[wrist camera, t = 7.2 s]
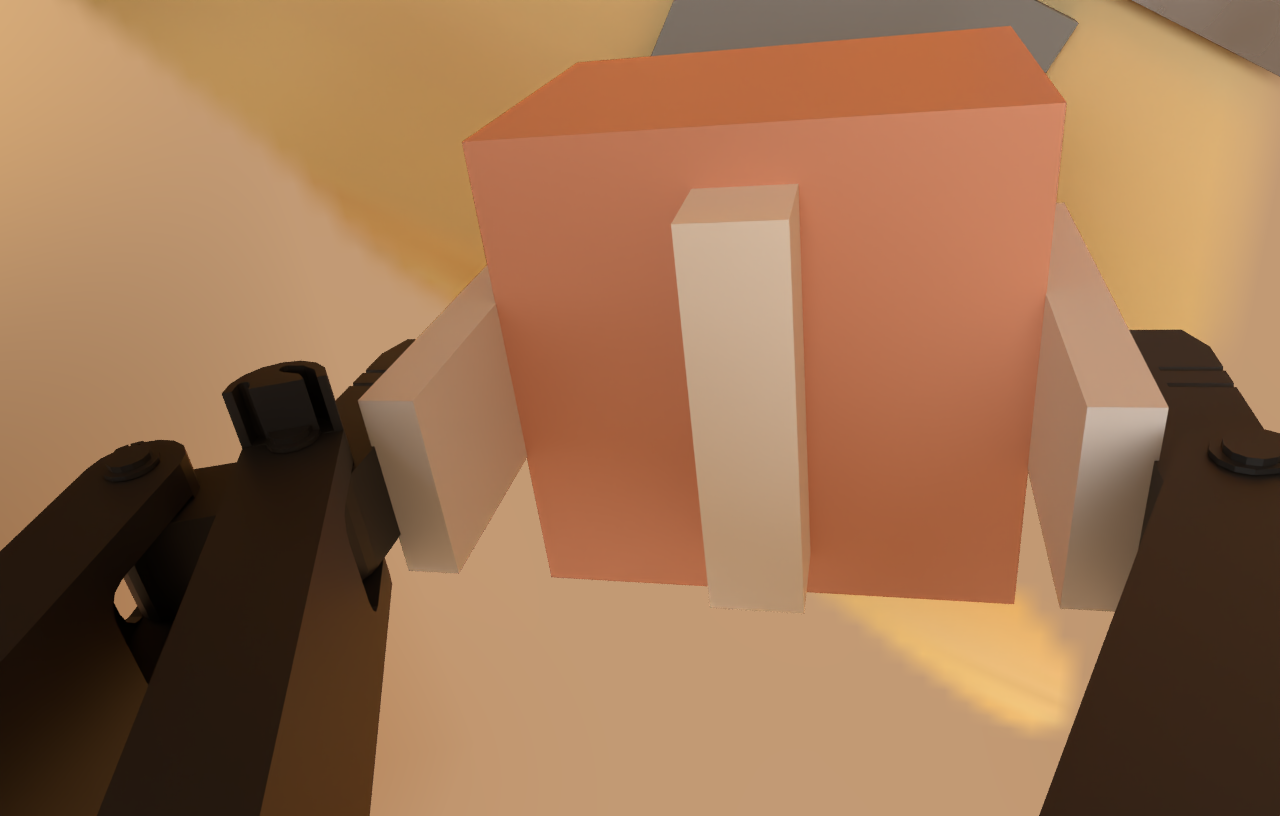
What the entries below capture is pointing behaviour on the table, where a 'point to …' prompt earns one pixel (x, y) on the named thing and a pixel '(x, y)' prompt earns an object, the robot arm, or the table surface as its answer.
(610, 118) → the orange block
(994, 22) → the mat
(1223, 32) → the grey peg stand
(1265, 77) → the table surface
